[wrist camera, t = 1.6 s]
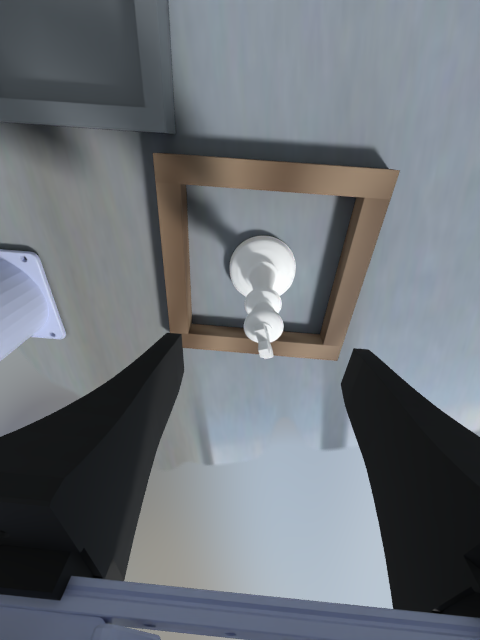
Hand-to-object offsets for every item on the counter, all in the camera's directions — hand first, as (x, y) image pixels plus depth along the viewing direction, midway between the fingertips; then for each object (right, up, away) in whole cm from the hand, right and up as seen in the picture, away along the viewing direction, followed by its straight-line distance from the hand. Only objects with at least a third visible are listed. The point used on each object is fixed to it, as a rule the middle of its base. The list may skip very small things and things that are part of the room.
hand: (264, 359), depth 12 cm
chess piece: (+1, +6, +9) cm, 11 cm away
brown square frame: (+1, +6, +9) cm, 10 cm away
